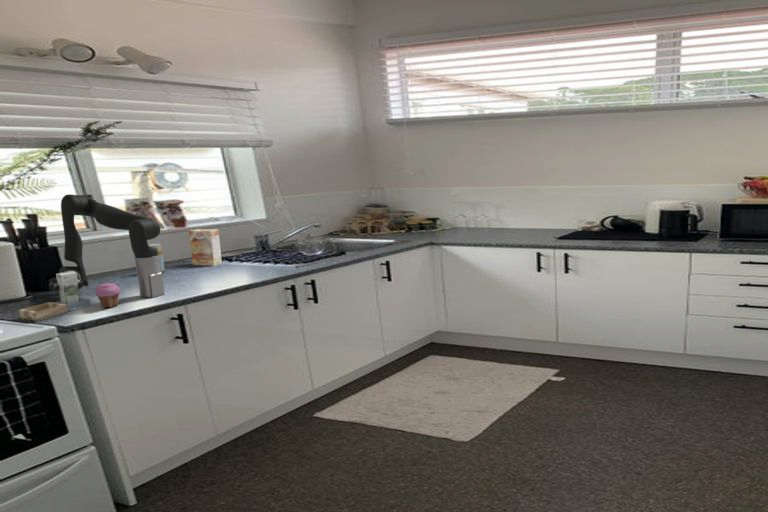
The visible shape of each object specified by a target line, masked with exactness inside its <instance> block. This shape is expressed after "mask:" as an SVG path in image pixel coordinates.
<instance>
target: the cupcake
mask: <svg viewBox="0 0 768 512" xmlns="http://www.w3.org/2000/svg"><path fill="white" fill-rule="evenodd" d="M120 293H121V288H120V286H119V285H118V284H115V283H114V282H105V283H101V284H98V285H97V286H96V288H95V296H96V297H97V299H98V300H99V303H100V304H101V306H102V308H104V307H112V308H114V307H116V306H115V305H117V306H118V305H119V296H120V295H119V294H120ZM113 306H114V307H113Z"/></svg>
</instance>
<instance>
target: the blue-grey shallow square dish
mask: <svg viewBox="0 0 768 512" xmlns="http://www.w3.org/2000/svg"><path fill="white" fill-rule="evenodd" d="M80 300H81V301H79V302H75V303H72V304H68V305H67V310H71V309H74V308H78V307H82V306H85V307H87V306H86V305H89V306H91V305H90V304H91V299H90V298H83V297H80ZM53 303H59V304H61V302H60V300H58V301H55V302H53ZM82 308H83V307H82ZM78 309H79V308H78ZM74 310H75V309H74ZM71 311H72V310H71Z"/></svg>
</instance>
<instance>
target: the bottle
mask: <svg viewBox="0 0 768 512" xmlns="http://www.w3.org/2000/svg"><path fill="white" fill-rule="evenodd" d="M148 245H149V246H150V247H152V248H156V249H157V250H158V256H159V264H160V272H161V273H162V274H163V273H165V271H166V270H165V263H164V262H165V261H164V255H163V251H162V245H161V243H150V244H148Z"/></svg>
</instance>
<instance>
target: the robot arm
mask: <svg viewBox="0 0 768 512" xmlns="http://www.w3.org/2000/svg"><path fill="white" fill-rule="evenodd" d="M60 210H61V211H60V212H61V213H60V214H61V217H62V218H61V220H62V226H63V227H62V228H63V234H64V250H63V251H64V252H63V253H64V255H63V257H64V258H63V259H64V260H65V261H67V262H72V263H75V266H73V265H72V266H70V265H65V266H61V268H60V269H59V271H58V273H62V272H68V271H74V272H76V273H77V280H78V288H79V290H80V289H81V288H83V287H88V286H89V279H88V277H86V276H87V274H86V269H85V266H84V262H83V240H82V238H81V236H80V233H79V231H78V229H77V228H76V224H75V216H84V217H90V218H93V219H95V220H96V222H97V223H98V224H99V225H101V226H103V227H106V228H110V229H113V230H120V231H128V236H129V239H130V240H129V241H130V246H131V250H132V253H133V254H134V260H135V268H136V269H135V270H136V277H137V284H138V288H139V297H140V298H143V297H148V298H156V297H159V296H163V295H165V285H164V279H163V273H161V272H160V264H159V256H158V250H157V249H156V248H152V247H150V246H149V245H150V244H149V243H148V241H150V240H154V239H156V238H157V237H158V236H159V235H160V233H161V226H160V224H159V223H158V222H157V221H156V220H154V219H153V218H151V217H148V216H143V215H142V216H141V215H137V214H133V213H131V212H129V211H126V210H124V209H121V208H118V207H116V206H112V205H109V204H106V203H100V202H98V201H96V200H94V199H92V198H90V197H88V196H85V195H80V194H65V195H64V196H63V197H62V198H61V201H60ZM48 287H49V291H50V292H53V291H54V292H55V293H59V289H58V283H55V282H54V281H53V282H49V284H48Z"/></svg>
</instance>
